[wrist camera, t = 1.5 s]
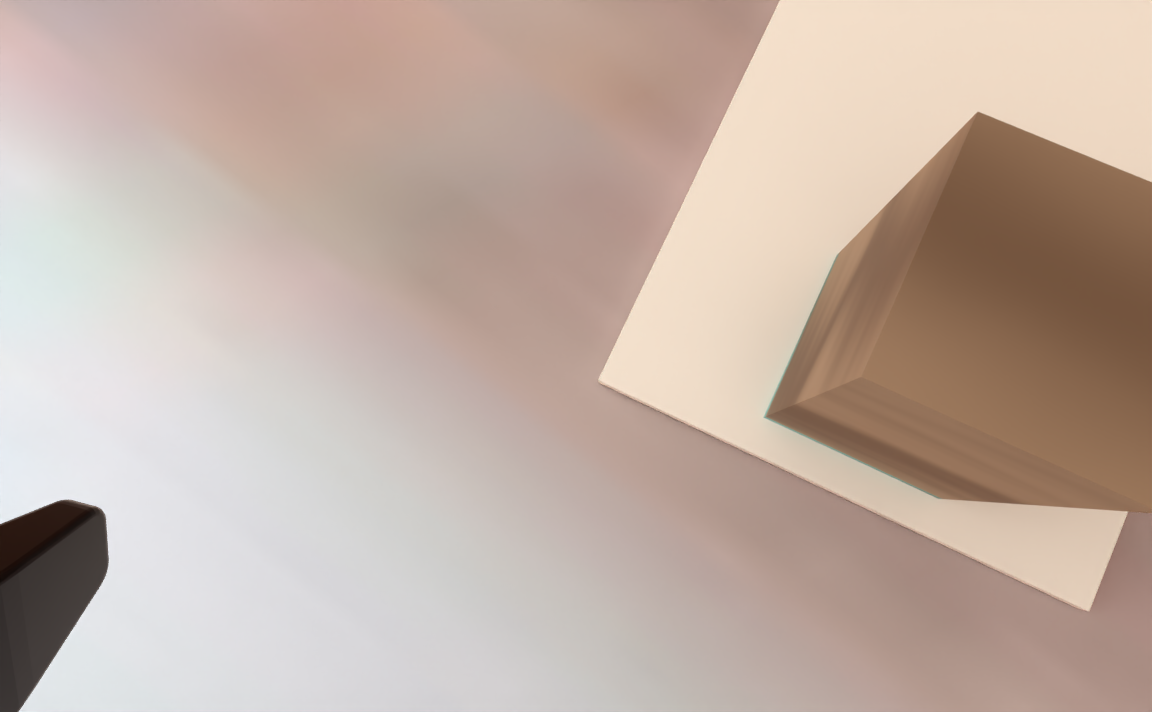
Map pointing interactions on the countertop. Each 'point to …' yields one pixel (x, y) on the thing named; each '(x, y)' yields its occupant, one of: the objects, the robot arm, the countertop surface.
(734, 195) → the cream board
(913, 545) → the countertop surface
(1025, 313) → the walnut block
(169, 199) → the countertop surface
